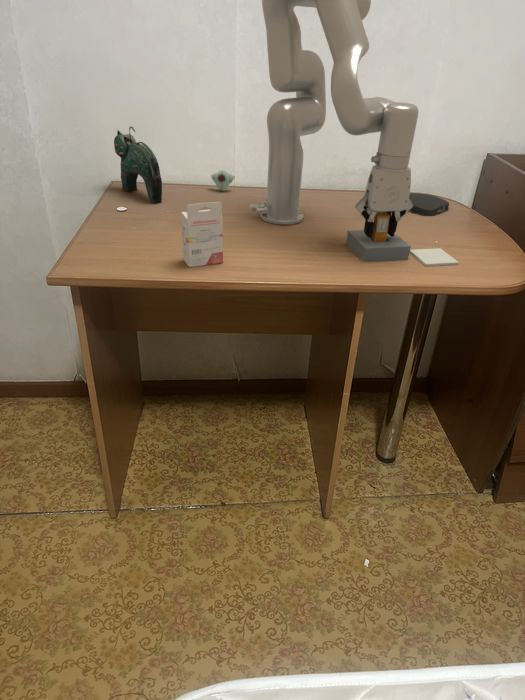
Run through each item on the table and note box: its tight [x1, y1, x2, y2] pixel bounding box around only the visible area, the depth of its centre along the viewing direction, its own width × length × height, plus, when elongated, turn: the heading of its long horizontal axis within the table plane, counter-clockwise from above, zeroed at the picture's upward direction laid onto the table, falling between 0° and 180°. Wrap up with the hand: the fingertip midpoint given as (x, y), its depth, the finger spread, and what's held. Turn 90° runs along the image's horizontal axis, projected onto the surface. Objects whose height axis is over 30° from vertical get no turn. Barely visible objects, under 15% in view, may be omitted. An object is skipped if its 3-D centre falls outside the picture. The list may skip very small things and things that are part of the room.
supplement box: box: [371, 212, 390, 242], centre depth 131 cm, size 3×3×10 cm
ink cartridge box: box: [180, 201, 224, 268], centre depth 119 cm, size 9×5×15 cm, turn 114°
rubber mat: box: [409, 247, 460, 267], centre depth 131 cm, size 9×9×1 cm
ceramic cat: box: [113, 126, 163, 205], centre depth 157 cm, size 20×6×20 cm, turn 43°
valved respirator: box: [210, 169, 236, 192], centre depth 168 cm, size 8×4×7 cm, turn 86°
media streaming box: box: [408, 192, 450, 217], centre depth 166 cm, size 15×15×3 cm
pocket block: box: [345, 229, 412, 263], centre depth 132 cm, size 12×12×4 cm
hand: (379, 234), depth 131 cm, fingers open, 5 cm apart
